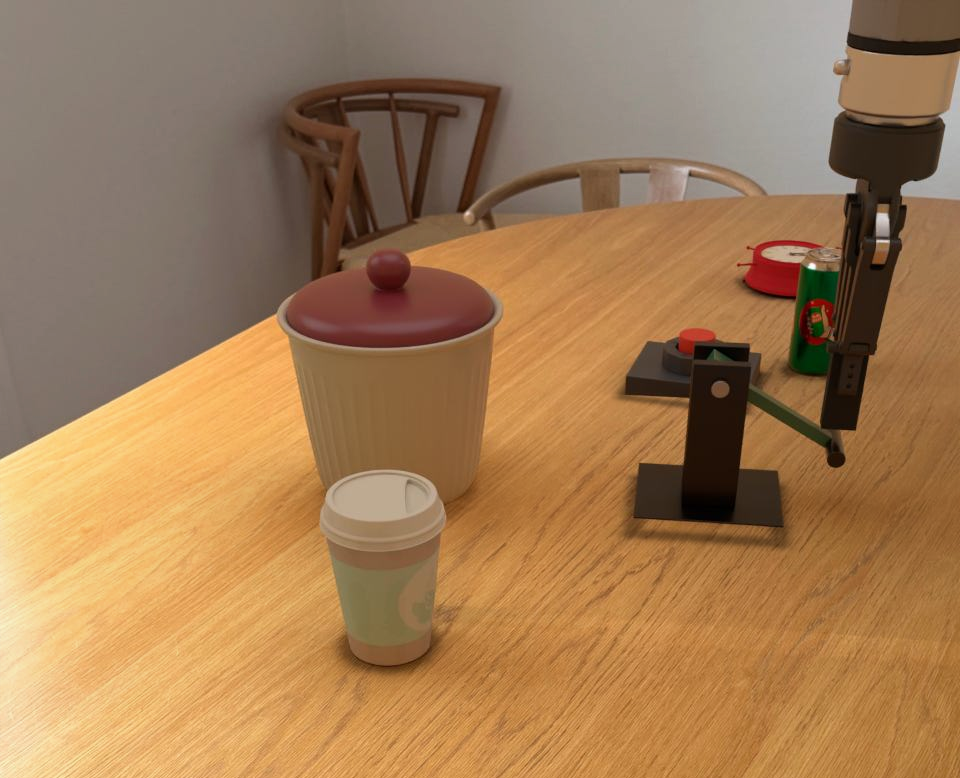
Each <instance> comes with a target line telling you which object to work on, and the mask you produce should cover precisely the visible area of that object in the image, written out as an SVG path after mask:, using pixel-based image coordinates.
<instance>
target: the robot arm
mask: <svg viewBox="0 0 960 778" xmlns="http://www.w3.org/2000/svg"><path fill="white" fill-rule="evenodd" d="M849 17H850V18H849V25H848V26H849V27H848V31H847V36H846V46H845V51H844V52H845V54H846V56H847V57H846V59H838V60H836V61H835V62H834V63H833V70H832V72H833V73H834V75H836V76H842V77H841V78H840V79H841V80H840V84H839V91H838V98H837V103H838V105H839V106H840V107H841V108H842V109H843V111H841V112H839V113H838V115H837V116H836V117H834V119H833V126H832V133H831V140H830V146H829V153H828V154H829V155H828V159H827V160H828V166H829V168H830V169H831V170H832V171H833V172H834V173H836V174H838V175H839V176H842V177H844V178H847V179H851V180H856V183H855V190H854V192H846V194H845V197H844V203H843V215H844V217H845V218H844V219H845V220H844V225H843V232H842V239H841V248H842V253H841V260H840V268H839V276H838V284H837V291H836V299H835V307H834V313H833V314H832V323H833V325H835V329H834V330H833V334H832V336H833V337H834V341H837V342H827V349H826V351H827V353H831V355H830V361H829V367H828V373H827V374H826V380H825V387H824V392H823V399H822V404H821V412H820V417H819V418H820V419H819V426H820V427H821V429H832V430H840V431H848V432H849V431H850V432H851V431H852V432H856V431H857V426H858V421H859V416H860V409H861V405H862V400H863V399H862V398H863V393H864V387H865V381H866V376H867V371H868V366H869V360H870V356H875V355H876V352H877V349H878V341H879V336H880V332H881V328H882V323H883V319H884V315H885V310H886V306H887V302H888V298H889V293H890V289H891V284H892V279H893V276H894V271H895V269H896V265H897V262H898V259H899V256H900V254H901V253H900V252H902V250H903V241H902V238H901V237H900V233H901V232H902V231H903V230H904V227H905V224H906V219H907V212H908V205H907V204H903V195H902V192H901V190H902V186H904V185H906V184H907V183H909V182H920V181H924V180H927V179H929V178H930V177H932V176H933V175H934V174H935V173H936V172H937V171H938V168H939V167H938V166H939V162H940V157H941V153H942V152H941V151H942V148H943V147H942V146H943V141H944V136H945V131H946V123H945V122H944V120H943V118H942V117H940V116H941V115H942V114H945V113H946V112H948V111H949V110H950V107H951V103H952V99H953V93H954V88H955V83H956V79H957V74H958V68H959V63H960V0H852V2H851V10H850V16H849Z"/></svg>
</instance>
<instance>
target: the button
mask: <svg viewBox="0 0 960 778" xmlns="http://www.w3.org/2000/svg"><path fill="white" fill-rule="evenodd" d="M678 337H679V347H678V350H679V351H680V352H682V353H685V354H690V355H693V351H694V341H710V342H715V340H716V339H717V335H716V333H715V331H712V330H710V329H706V328H700V327H693V328H692V327H691V328H685V329H683V330H680V332H679V335H678Z"/></svg>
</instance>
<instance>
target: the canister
mask: <svg viewBox="0 0 960 778" xmlns="http://www.w3.org/2000/svg"><path fill="white" fill-rule="evenodd" d="M504 309H505V308H504V304H503V302H502V300H501V299H500V297H499V296H498V295H497V294H495V292H493V291H492V290H491V289H488V288H487V287H485V286H483V285H481V284H479V283H478V282H477V281H476V280H473V279H472V278H470V277H468V276H465V275H463V274H459V273H456V272H453V271H451V270H445V269H441V268H436V267H429V266H421V265H412V264H411V261H410V258H409V257H408V255H407V254H406V253H404V252H403V251H402V250H399V249H397V248H391V247H385V248H380V249H377V250H375V251H373V253H371V254H370V255H369V256H368V258H367V260H366V262H365V266H363V267H357V268H350V269H347V270H346V269H345V270H342V271H337V272H334V273H330V274H328V275H326V276H325V275H324V276H322V277H320V278H316V279H314V280H313V281H311V282H309V283H307V284H306V285H304V286H302V287H301V288H300V289H299V290H297V291H296V292H295V293H293V294H291V295H289V297H287V298H286V299H285V300H283V301H282V302H281V304H280V305H279V307H278V309H277V311H276V321H277V324H278V326H279V327H280V329H281V330H282V331H283V333H284V334H285V335H287V338H288V343H289V348H290V353H291V359H292V363H293V369H294V372H295V377H296V381H297V384H298V385H297V386H298V390H299V396H300V400H301V405H302V410H303V414H304V415H303V416H304V419H305V424H306V428H307V432H308V436H309V441H310V444H311V445H310V446H311V449H312V454H313V457H314V461H315V465H316V469H317V473H318V476H319V479H320V482H321V483H322V485H323V487H324V489H326V493H327V492H328V490H329V489H330V487H331V486H332V485H334V484H335V483H336V482H338V481H339V480H341V479H343V478H345V477H348V476H350V475H353V474H357V473H361V472H366V471H373V470H399V471H406V472H410V473H414V474H417V475H420V476H422V477H424V478H426V479H427V480H429V481H430V482H431V483H432V484H433V485H434V486H435V488H436V490H437V493H438V496H439V498H440V500H441V501H442V503H443V505H444V506H445V505H446V504H450V503H451V502H453V501H455V500H457V499H459V498H460V497H461V496H462V495H465V494H466V492H467V491H468V490H470V488H471V486H472V485H473V483H474V481H475V479H476V476H477V472H478V468H479V464H480V459H481V451H482V444H483V437H484V430H485V422H486V414H487V405H488V397H489V396H488V395H489V388H490V387H489V386H490V376H491V367H492V360H493V351H494V350H493V349H494V338H495V329H496V327H498V325H499V324H500V322H501V320H502V319H503V317H504Z"/></svg>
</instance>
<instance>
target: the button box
mask: <svg viewBox="0 0 960 778" xmlns="http://www.w3.org/2000/svg"><path fill="white" fill-rule="evenodd" d="M715 342H724V341H723V340H720V339H717V338H716V340H715ZM678 347H679V336H676V337H673V338H671V339H668V340H666V341H665V342H662V341H661V342H660V341H652V340H647V341H646V343H645V344H644V346H643V348H642V349H641V350H640V352H639V353H638V356H637V357H636V359H635V360H634V362H633V364H632V366H631V367H630V369H629V370H628V372H627V373H626V375H625V387H624V395H625V396H637V397H638V396H640V397H660V398H681V399H689V396H690V385H691V373H692V362H693V355H690V354H685V353H682V352H680V351H679V350H678ZM749 362H751V376H750V384H752V385H753V386H755V385H756V382H757V380H758V377H759V375H760V370H761V363H762V353H761V352H753V351H750V353H749Z"/></svg>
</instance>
